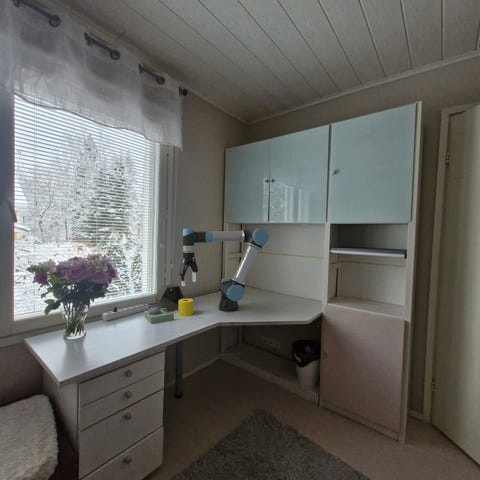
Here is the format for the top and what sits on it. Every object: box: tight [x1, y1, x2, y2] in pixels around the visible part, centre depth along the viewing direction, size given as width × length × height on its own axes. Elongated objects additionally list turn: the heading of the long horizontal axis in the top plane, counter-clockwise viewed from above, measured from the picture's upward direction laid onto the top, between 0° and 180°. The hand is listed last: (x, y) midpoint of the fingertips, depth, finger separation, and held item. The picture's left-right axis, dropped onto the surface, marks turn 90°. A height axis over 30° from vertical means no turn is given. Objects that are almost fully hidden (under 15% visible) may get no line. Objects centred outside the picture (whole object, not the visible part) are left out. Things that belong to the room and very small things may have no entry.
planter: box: [154, 283, 185, 313], centre depth 187 cm, size 17×8×21 cm
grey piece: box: [144, 306, 175, 325], centre depth 167 cm, size 14×15×7 cm
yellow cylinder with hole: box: [177, 298, 194, 317], centre depth 178 cm, size 10×10×9 cm
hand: (189, 283), depth 170 cm, fingers open, 13 cm apart
